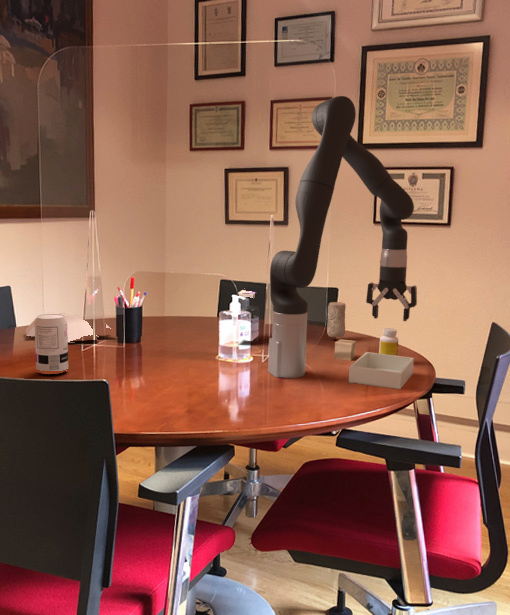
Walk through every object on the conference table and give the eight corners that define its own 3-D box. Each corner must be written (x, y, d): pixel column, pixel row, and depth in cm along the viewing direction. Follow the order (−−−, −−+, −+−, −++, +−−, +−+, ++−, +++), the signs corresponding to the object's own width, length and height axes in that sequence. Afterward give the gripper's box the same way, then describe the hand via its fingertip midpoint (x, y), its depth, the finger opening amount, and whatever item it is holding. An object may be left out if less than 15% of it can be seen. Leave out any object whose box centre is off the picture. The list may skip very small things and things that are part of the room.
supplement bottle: (399, 364, 181) (401, 331, 180) (381, 364, 181) (383, 331, 179) (393, 359, 187) (395, 327, 185) (376, 359, 186) (378, 327, 185)
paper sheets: (5, 333, 210) (4, 317, 209) (46, 323, 228) (46, 309, 227) (88, 346, 196) (88, 329, 196) (125, 334, 214) (125, 318, 213)
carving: (342, 334, 219) (344, 301, 217) (346, 339, 212) (348, 305, 210) (325, 334, 219) (326, 301, 217) (328, 339, 212) (329, 304, 210)
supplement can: (30, 371, 165) (28, 315, 162) (58, 365, 171) (57, 312, 168) (45, 377, 159) (44, 320, 157) (74, 371, 165) (73, 316, 163)
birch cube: (350, 360, 185) (351, 344, 184) (334, 358, 187) (335, 342, 186) (355, 357, 189) (355, 341, 188) (339, 355, 191) (340, 339, 190)
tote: (399, 392, 155) (401, 373, 154) (348, 384, 160) (349, 366, 159) (412, 375, 170) (414, 357, 169) (365, 369, 175) (366, 351, 174)
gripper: (420, 264, 179) (417, 319, 182) (372, 261, 185) (369, 315, 188) (416, 267, 173) (412, 324, 176) (365, 264, 178) (363, 319, 181)
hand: (390, 319), depth 182 cm, fingers open, 8 cm apart
